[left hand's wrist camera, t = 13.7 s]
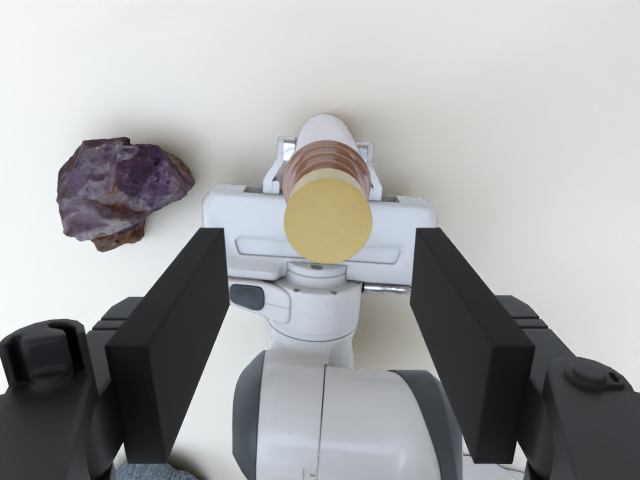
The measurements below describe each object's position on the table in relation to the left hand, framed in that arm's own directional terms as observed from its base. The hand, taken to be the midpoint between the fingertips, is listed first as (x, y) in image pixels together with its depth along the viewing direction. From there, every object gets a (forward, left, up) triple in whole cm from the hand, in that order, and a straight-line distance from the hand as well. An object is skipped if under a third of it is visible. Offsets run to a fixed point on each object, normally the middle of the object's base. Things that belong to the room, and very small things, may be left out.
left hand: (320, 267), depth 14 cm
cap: (0, 0, -5) cm, 5 cm away
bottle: (0, 0, -31) cm, 31 cm away
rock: (+15, -12, -31) cm, 36 cm away
